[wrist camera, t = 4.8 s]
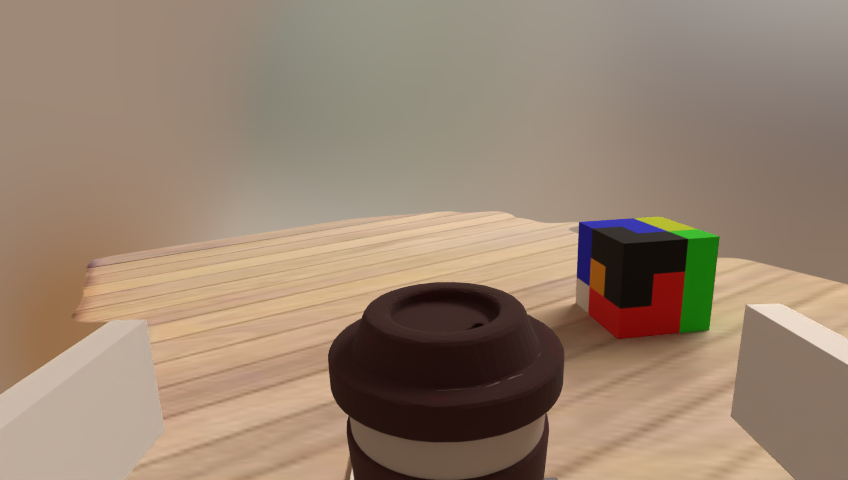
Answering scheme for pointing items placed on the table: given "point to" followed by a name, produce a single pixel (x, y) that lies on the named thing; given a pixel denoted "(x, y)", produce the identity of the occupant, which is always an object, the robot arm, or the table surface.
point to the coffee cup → (447, 385)
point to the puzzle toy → (646, 276)
